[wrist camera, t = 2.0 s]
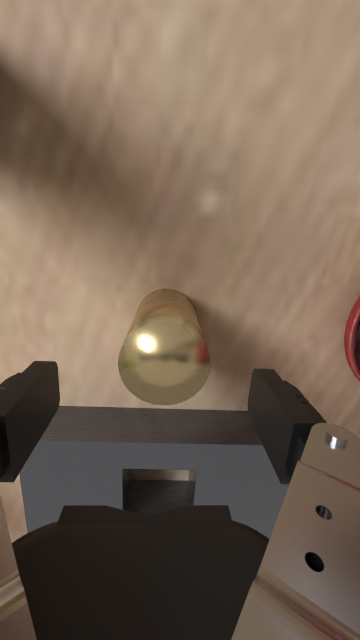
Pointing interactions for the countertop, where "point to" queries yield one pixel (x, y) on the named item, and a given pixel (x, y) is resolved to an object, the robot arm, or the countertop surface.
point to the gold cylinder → (164, 350)
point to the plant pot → (353, 339)
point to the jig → (151, 464)
